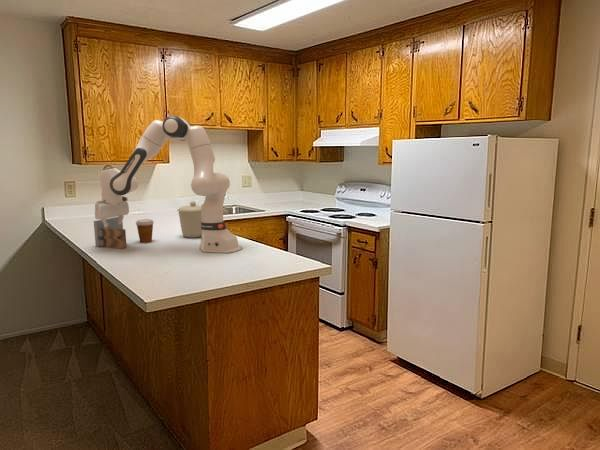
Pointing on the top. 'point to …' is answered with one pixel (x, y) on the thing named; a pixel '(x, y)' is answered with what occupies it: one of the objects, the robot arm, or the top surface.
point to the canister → (191, 220)
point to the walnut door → (114, 238)
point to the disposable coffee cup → (145, 230)
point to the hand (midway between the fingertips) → (113, 225)
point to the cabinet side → (99, 225)
